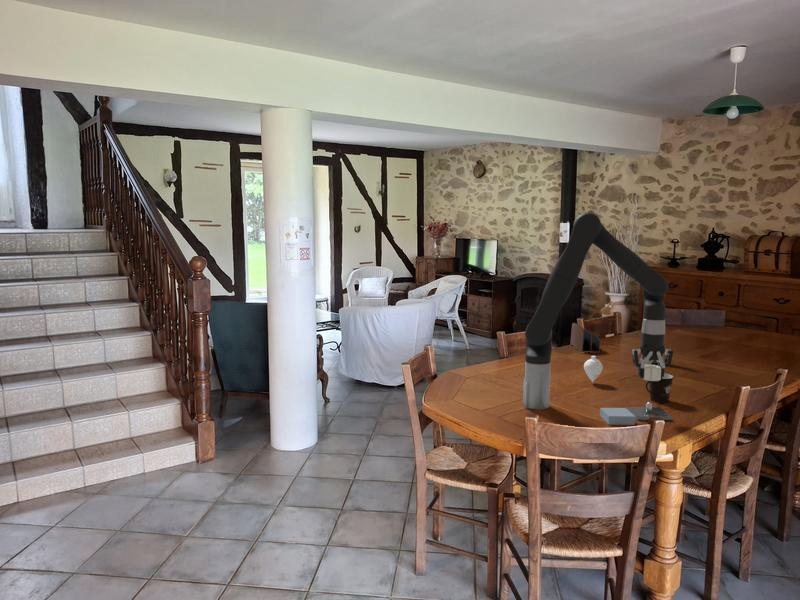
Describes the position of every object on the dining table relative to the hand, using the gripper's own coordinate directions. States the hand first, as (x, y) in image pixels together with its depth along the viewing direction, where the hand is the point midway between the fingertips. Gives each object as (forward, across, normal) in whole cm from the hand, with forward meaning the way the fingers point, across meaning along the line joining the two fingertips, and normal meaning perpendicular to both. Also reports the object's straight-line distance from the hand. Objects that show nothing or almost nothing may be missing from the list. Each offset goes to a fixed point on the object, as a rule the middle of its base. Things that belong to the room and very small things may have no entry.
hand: (650, 377), depth 201 cm
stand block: (+14, -13, -5) cm, 20 cm away
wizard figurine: (+14, +35, +78) cm, 87 cm away
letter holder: (+14, +10, +110) cm, 111 cm away
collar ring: (0, 0, 0) cm, 0 cm away
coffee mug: (+14, +10, +18) cm, 25 cm away
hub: (+14, 0, 0) cm, 14 cm away
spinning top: (+14, -7, +42) cm, 45 cm away
